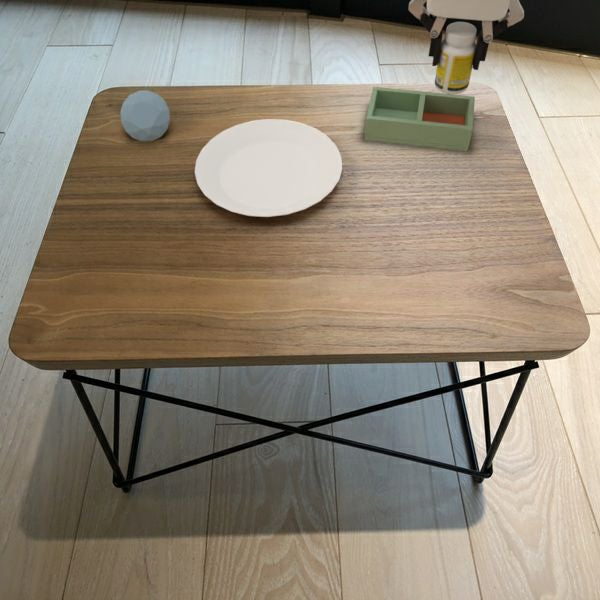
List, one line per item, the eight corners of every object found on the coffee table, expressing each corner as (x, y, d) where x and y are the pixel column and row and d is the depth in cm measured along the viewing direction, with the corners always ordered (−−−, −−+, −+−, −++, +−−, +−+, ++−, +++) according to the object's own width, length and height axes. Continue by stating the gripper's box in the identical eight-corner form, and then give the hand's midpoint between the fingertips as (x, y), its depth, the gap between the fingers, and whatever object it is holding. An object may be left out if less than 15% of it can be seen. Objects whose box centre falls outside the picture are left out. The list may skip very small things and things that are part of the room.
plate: (352, 139, 93) (353, 127, 91) (326, 238, 81) (326, 226, 79) (222, 123, 96) (220, 111, 95) (177, 216, 84) (174, 204, 82)
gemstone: (130, 91, 97) (120, 85, 92) (178, 98, 97) (171, 93, 92) (125, 140, 98) (115, 137, 93) (172, 147, 98) (165, 144, 93)
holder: (371, 108, 98) (373, 86, 95) (469, 118, 96) (474, 96, 92) (364, 140, 93) (365, 118, 90) (467, 151, 91) (472, 129, 88)
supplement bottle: (473, 82, 88) (486, 26, 81) (459, 99, 85) (471, 42, 79) (443, 72, 89) (453, 16, 83) (428, 88, 87) (437, 32, 80)
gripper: (559, -92, 71) (518, 53, 86) (412, -100, 74) (396, 42, 88) (562, -65, 67) (518, 84, 81) (405, -74, 69) (390, 72, 84)
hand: (455, 61), depth 84 cm, fingers closed on supplement bottle, 4 cm apart
